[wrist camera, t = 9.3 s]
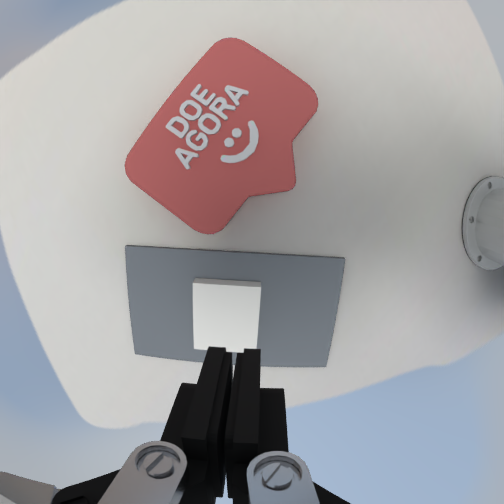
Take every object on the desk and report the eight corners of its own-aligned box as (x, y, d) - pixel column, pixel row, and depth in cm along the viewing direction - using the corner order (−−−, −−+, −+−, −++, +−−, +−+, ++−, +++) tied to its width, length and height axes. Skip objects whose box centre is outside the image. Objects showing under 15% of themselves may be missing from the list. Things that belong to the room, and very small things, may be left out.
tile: (261, 287, 31) (192, 282, 31) (256, 353, 33) (193, 348, 33) (260, 281, 33) (195, 277, 33) (256, 345, 35) (196, 341, 35)
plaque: (235, 262, 29) (114, 171, 27) (237, 252, 33) (129, 171, 31) (351, 116, 26) (225, 28, 24) (340, 122, 29) (228, 42, 27)
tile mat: (344, 257, 33) (345, 259, 32) (325, 364, 36) (326, 367, 36) (126, 245, 32) (125, 246, 32) (136, 352, 36) (135, 354, 35)
